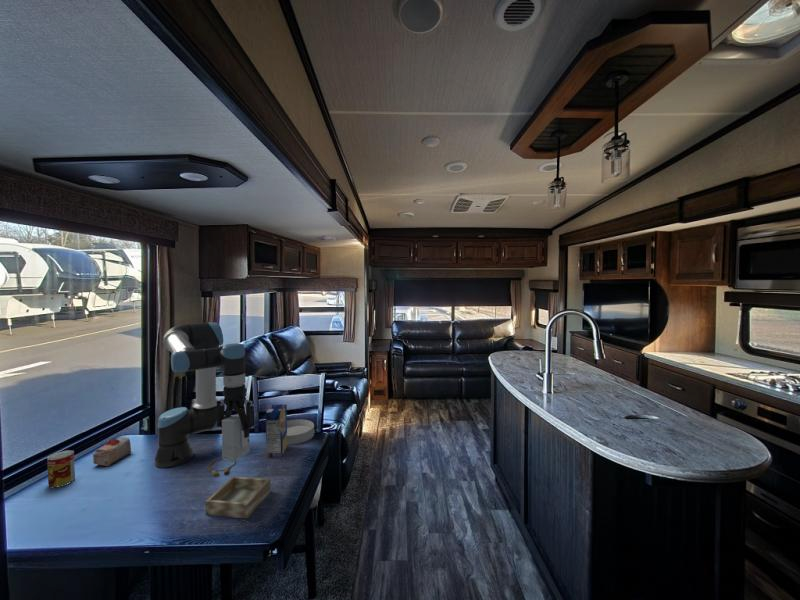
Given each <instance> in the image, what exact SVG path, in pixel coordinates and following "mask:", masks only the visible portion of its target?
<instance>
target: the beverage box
mask: <svg viewBox="0 0 800 600" xmlns="http://www.w3.org/2000/svg"><path fill="white" fill-rule="evenodd" d="M287 406H288V405H287V404H271V406H270V407H269V408H268V409H267V410H266V412H265V436H266V437H265V439H266V441H265V442H266V451H265V452H266V459H272V458H282V457H283V455H284V453H285V451H286V449H287V447H288V445H287V421H288V418H287V417H288V416H287V411H288V409H287Z"/></svg>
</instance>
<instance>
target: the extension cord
mask: <svg viewBox="0 0 800 600" xmlns="http://www.w3.org/2000/svg"><path fill="white" fill-rule="evenodd" d="M222 460H224V459H222V457H221V458H217V459H215V460H212V462H209V464H208V466H207V470H208V471H210V472H211V475H212V477H213V476H214V477H217V476H219V475H220V473H219V472H223V473H224V476H226V475H229V472H230V469H232V467H234V466H235V465H236V461H233V462H234V464H232V465H231V466H228V467H226V468H224V469H220V470H214V469H211V468H210V466H212V465H214V463H216V462H219V461H222Z"/></svg>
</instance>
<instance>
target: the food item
mask: <svg viewBox="0 0 800 600" xmlns="http://www.w3.org/2000/svg"><path fill="white" fill-rule="evenodd" d="M131 453H132V447H131V440H130V438H128V437H126V436H125V437H119V438H117V439H116V438H114V439H112V440H109V439H107V441H106V442H105V445H103V446H100V447H99V448H98V449H96V450H95V452H94V453H93V454H92V457H93V460H92V462H93V464H94V465H97V466H101V467H102V466H103V467H110V466H111V465H112V464H114V463H115V462H117V461H119V460H120V459H123V458H124V457H126V456H127V455H129V454H131Z"/></svg>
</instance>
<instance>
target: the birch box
mask: <svg viewBox="0 0 800 600" xmlns="http://www.w3.org/2000/svg"><path fill="white" fill-rule="evenodd" d="M270 493H271V478H270V479H269V478H257V477H247V476H246V477H244V476H232V477H231V478H229V480H227V481H226V482H225V483H224V484H223V485H222V486H221V487H219V489H218V490H216V491H215V492H214V493H213V494H211V496H210V497H209V498H208V499H206V500H205V515H206V516H215V517H224V518H225V517H226V518H238V519H248V518H249V517H250V516H251V515H252V514H253V513H254V512H255V510H256V509H257V508H258V507H259V506H260V504H261V503H262V502H263V501H264V499H266V498H267V496H268V495H269V494H270Z"/></svg>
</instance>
